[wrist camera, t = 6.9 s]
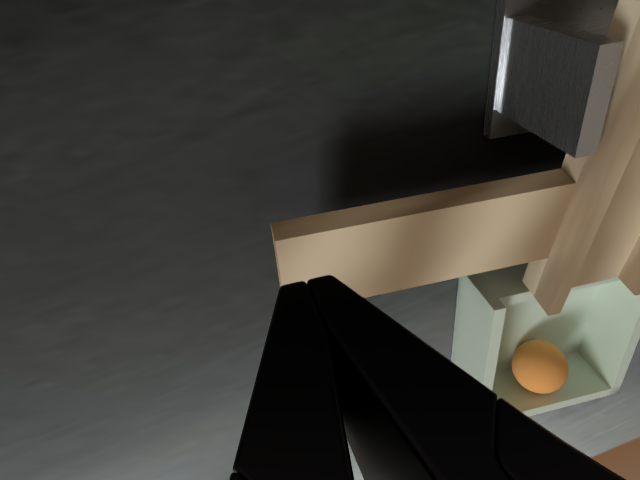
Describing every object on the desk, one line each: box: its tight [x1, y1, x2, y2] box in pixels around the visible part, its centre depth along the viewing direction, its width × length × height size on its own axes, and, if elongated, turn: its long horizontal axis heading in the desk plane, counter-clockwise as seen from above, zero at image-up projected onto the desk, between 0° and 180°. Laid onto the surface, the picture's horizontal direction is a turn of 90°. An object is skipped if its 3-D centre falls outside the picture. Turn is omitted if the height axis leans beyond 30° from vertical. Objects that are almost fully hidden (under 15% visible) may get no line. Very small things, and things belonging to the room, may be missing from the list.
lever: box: [271, 0, 640, 316], centre depth 16 cm, size 17×20×5 cm
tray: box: [451, 262, 640, 417], centre depth 27 cm, size 9×9×4 cm
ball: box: [512, 340, 569, 394], centre depth 28 cm, size 3×3×3 cm
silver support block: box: [483, 0, 624, 158], centre depth 18 cm, size 8×6×6 cm
